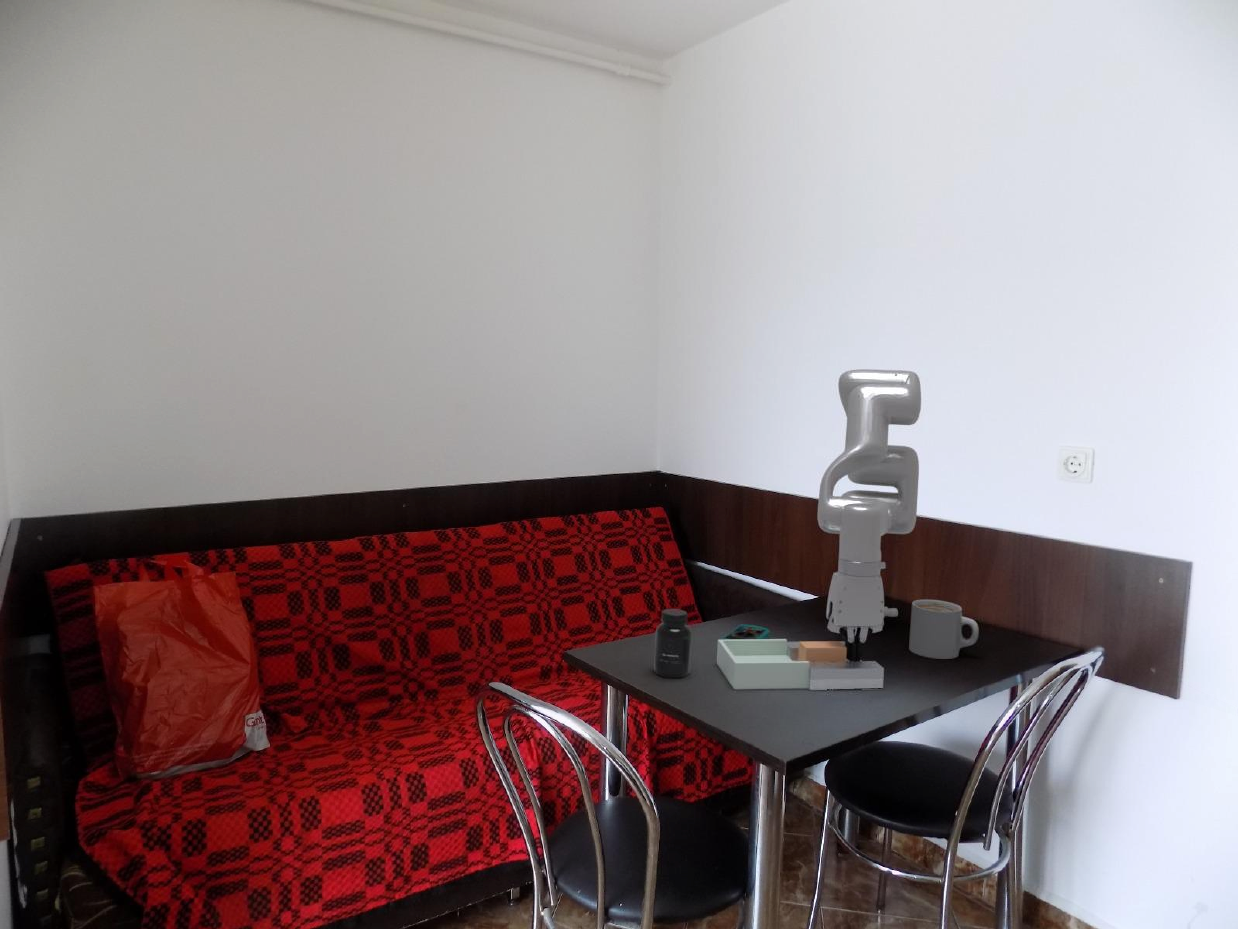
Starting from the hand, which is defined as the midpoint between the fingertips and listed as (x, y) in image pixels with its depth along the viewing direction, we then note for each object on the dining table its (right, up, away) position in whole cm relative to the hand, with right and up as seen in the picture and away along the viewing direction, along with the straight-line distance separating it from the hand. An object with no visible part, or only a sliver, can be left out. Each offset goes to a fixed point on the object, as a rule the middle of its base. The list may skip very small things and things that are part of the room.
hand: (852, 660), depth 163 cm
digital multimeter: (-19, -1, +17) cm, 25 cm away
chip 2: (-4, -1, 0) cm, 4 cm away
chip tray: (-18, -3, -2) cm, 18 cm away
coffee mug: (+23, -2, +15) cm, 28 cm away
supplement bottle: (-35, -2, -2) cm, 35 cm away
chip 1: (-8, -1, -1) cm, 8 cm away
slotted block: (-4, -3, 0) cm, 5 cm away
